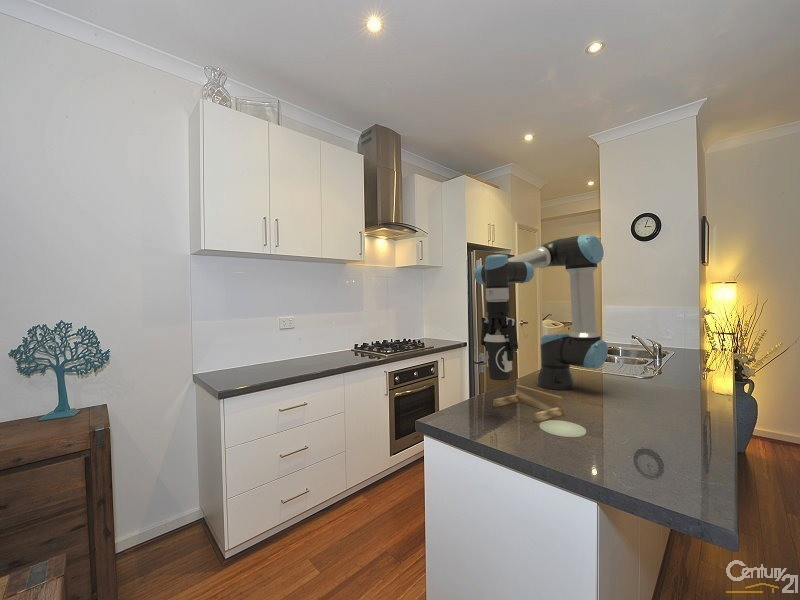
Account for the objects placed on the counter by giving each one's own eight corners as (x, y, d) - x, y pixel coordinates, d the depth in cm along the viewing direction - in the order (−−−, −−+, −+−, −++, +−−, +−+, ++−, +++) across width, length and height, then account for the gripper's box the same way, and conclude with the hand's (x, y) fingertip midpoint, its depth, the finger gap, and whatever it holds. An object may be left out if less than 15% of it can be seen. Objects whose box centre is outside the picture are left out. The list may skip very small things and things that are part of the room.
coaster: (557, 418, 115) (557, 417, 115) (595, 431, 104) (595, 430, 104) (530, 426, 109) (530, 425, 109) (568, 440, 98) (568, 439, 98)
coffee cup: (510, 374, 122) (509, 331, 122) (517, 381, 112) (516, 335, 112) (483, 374, 123) (481, 332, 122) (487, 381, 113) (486, 336, 113)
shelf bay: (518, 400, 136) (518, 385, 136) (563, 414, 119) (563, 397, 119) (493, 406, 129) (493, 390, 129) (536, 422, 112) (536, 403, 112)
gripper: (468, 301, 124) (470, 364, 124) (512, 301, 106) (514, 375, 107) (484, 300, 128) (486, 362, 128) (529, 300, 110) (531, 372, 110)
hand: (499, 368), depth 117 cm, fingers closed on coffee cup, 7 cm apart
